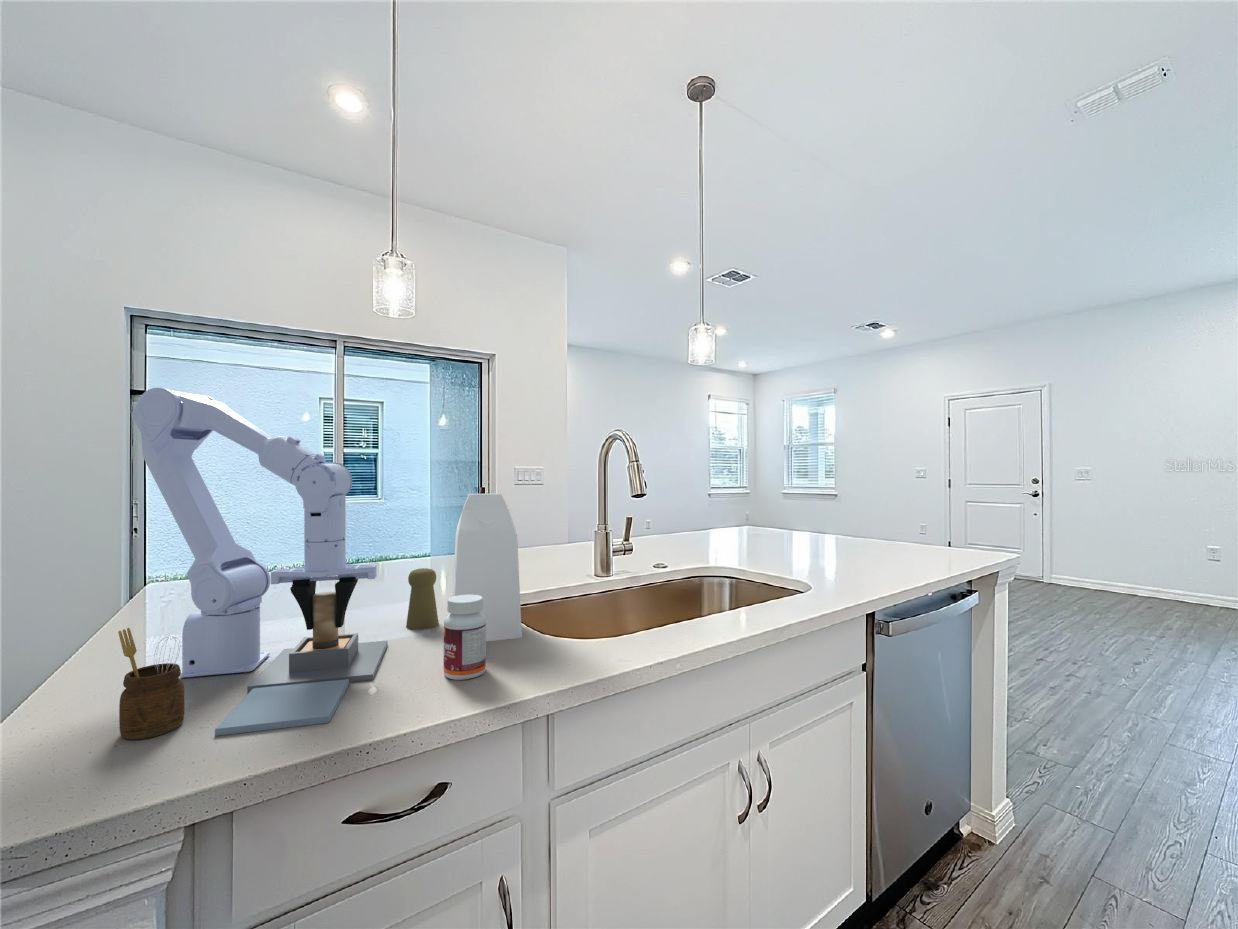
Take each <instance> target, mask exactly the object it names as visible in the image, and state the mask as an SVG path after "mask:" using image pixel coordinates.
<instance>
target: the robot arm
mask: <svg viewBox="0 0 1238 929" xmlns="http://www.w3.org/2000/svg"><path fill="white" fill-rule="evenodd" d="M131 417H132V418H133V420H134V422H135V424H136V426H137V428H138V430H139V432H140V436H141V450H142V456H143V460H144V462H145V464H146V467H147V468H148V469H149V472H150V474H151V475H152V478H153V479H154V482H155V483H156V485H157V488H158V489H159V491H160V493H161V496H162V497H163V500H164V501H165V503H166V505H167V507H168V509H169V511H170V512H171V514H172V516H173V519H174V520H175V522H176V524H177V526H178V529H179V530H180V532H181V534H182V536H183V537H184V539H185V542H186V543H187V544H186V545H187V546H188V547H189V549H190V552H191V553H192V556H193V557H194V561H193V563H191V565H190V567H189V569H188V571H187V573H186V576H187V579H188V581H189V584H190V595H191V600H192V602H193V605H195V607H196V608H197V609H198V610H200V611H193V612H191V613H190V614H189V615H188V616H187V617H186V619H185V621H184V624H183V628H182V636H181V643H182V644H181V647H182V648H181V649H182V650H181V651H182V652H181V655H182V656H181V659H182V660H181V663H182V665H181V668H182V670H181V675H180V677H179V678H180V679H181V678H183V679H184V678H191V677H205V676H214V675H225V674H235V673H236V674H237V673H247V672H248V673H249V672H252V671H254V670H255V669H256V668H257V667H258V666H259V665H260V664H262V662H263V661H265V659H266V658H268V657H269V656H270V651H261V604H262V603H263V602H262V601H263V600H262V599H263V596H264V595H265V594H266V593H267V592H268V590H269V588H270V586H271V585H280V584H285V583H286V584H287V583H291V584H292V585H291V587H290V588H289V589H290V593H291V594H292V596H293V597H294V599H295V600H296V602H297V604H298V606H299V607H300V610H301V613H302V615H303V619H304V622H305V626H306V631H311V630H312V631H313V595H314V594H316V589H317V582H323V581H337V582H336V583H335V584H334V590H335V591H334V592H336V603H337V612H336V628H338V629H340V628H342V627H343V625H344V624H345V618H346V614H347V609H348V605H349V602H350V600H351V598H352V595H353V592H354V589H355V588H356V586H357V584H358V582H359V579H361V580H362V579H363V580H365V579H367V580H375V579H376V578H377V564H346V563H347V562H346V560H347V557H346V555H347V552H346V551H347V548H346V547H347V546H346V544H347V543H346V542H347V540H346V538H347V534H346V532H347V528H346V527H347V526H346V525H347V524H346V522H347V520H346V518H347V517H346V516H347V509H346V507H347V506H346V503H347V502H346V498H347V494H348V493H349V492H350V491H351V489H352V486H353V476H352V473H351V472H350V470H349V469H348V468H347V467H345V466H344V465H343V463H341V462H333V461H331V462H327V460H326V458H327V457H326V455H323V454H321V453H315V452H314V451H311V450H310V449H308V448H306V447H305V446H304V445H301V444H300V443H301V440H300V439H299V438H297V437H296V436H290V435H289V436H286V435H279V436H275V437H273V436H271V435H270V434H268V433H267V432H265V431H264V430H262V429H261V428H260V427H259V426H257V425H255V424H254V423H252V422H250V421H249V420H248V419H246V418H245V417H243V416H242V415H240V414H238V413H237V412H235V411H234V410H232V409H231V408H230V407H228V406H227V404H225V403H223V402H221V401H218V400H216V399H215V398H213V397H211V396H209V395H205V394H194V393H189V392H188V393H187V392H183V391H177V390H171V389H168V388H165V387H152V388H150V389H147V390H146V391H144V392H143V393H142V394H141V395H140V397H139V399H138V400H137V402H136V405H135V407H134V408H133V410H132V413H131ZM213 432H216V434H219V435H221V436H222V437H225V438H227V439H229V440H230V441H232V442H234V443H236V444H238V445H240V446H242V447H244V448H245V449H247V450H249V451H251V452H252V453H255V454H256V455H258V462H259V465H260V466H261V467H262V468H264V469H266V470H268V471H269V472H270V473H273V475H276V476H278V477H279V478H281V479H283V480H284V481H285V482H287V483H289V484H291V485H293V486H294V487H295V490H296V492H297V493H298V494H299V496H300V497H301V499H302V501H303V506H302V508H303V509H304V512H303V513H304V518H303V519H304V520H303V522H304V526H303V527H304V530H303V531H304V536H303V537H304V538H303V539H304V541H303V542H304V549H303V550H304V552H303V553H304V559H303V560H304V567H303V566H302V567H300V566H299V567H291V568H290V567H289V568H280V569H279V568H278V569H273V570H272V571H271V572H269V571H268V569H267V567H266V566H265V565H263V564H262V563H261V562H259V561H258V560H257V559H256V558H255V556H254V554H253V552H252V551H251V550H249V549H247V548H246V547H244V546H242V545H240V544H238V543H237V542H236V541H235V540H234V537H233V536H232V533H231V532H230V529H229V528H228V526H227V523H226V522H225V520H224V518H223V516H222V514H221V512H220V509H219V508H218V506H217V504H216V502H215V500H214V498H213V496H212V495H211V492H210V491H209V489H208V486H207V484H206V483H205V481H204V478H203V477H202V475H201V473H200V471H199V469H198V467H197V465H196V463H195V461H194V460H193V454H194V452H195V451H196V450H197V449H198V448H199V447H200V446H201V445H202V444H203V443H204V442H205V440H206V439H207V438H209V436H210V435H211V434H212V433H213Z"/></svg>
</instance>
